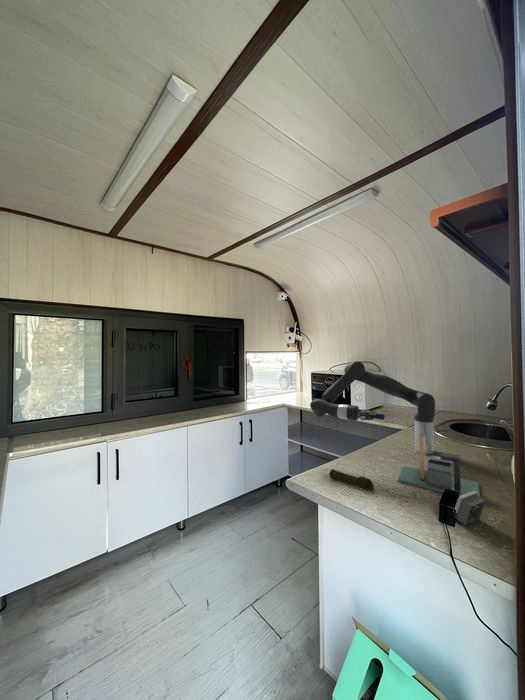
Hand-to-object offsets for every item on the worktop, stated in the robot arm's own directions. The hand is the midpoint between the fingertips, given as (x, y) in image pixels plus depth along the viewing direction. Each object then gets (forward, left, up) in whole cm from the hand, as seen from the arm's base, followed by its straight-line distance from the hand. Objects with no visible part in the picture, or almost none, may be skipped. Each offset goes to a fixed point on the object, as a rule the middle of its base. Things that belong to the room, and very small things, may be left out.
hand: (384, 417), depth 126 cm
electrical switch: (+24, +31, -26) cm, 47 cm away
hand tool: (+21, -9, -26) cm, 35 cm away
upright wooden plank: (0, +20, -24) cm, 31 cm away
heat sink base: (0, +21, -26) cm, 33 cm away
